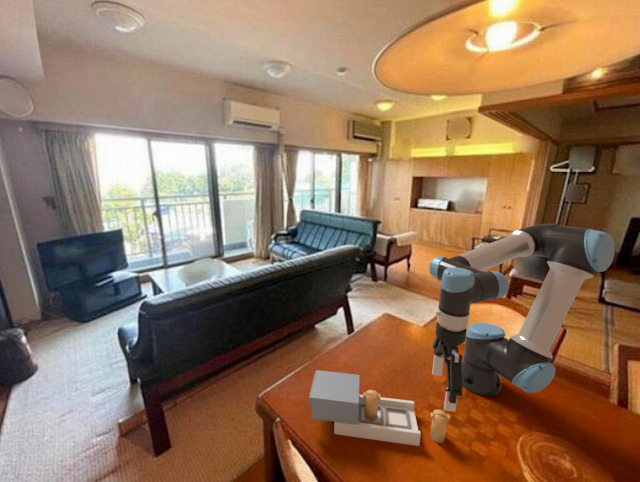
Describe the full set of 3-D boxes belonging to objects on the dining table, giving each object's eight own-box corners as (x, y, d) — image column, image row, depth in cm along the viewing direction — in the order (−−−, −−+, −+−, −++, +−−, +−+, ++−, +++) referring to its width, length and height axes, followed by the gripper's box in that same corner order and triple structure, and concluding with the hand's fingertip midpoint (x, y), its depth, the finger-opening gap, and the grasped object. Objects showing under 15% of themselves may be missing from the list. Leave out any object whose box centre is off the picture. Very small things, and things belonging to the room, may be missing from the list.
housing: (412, 412, 94) (413, 401, 93) (419, 446, 82) (420, 433, 81) (337, 402, 97) (338, 392, 96) (334, 434, 86) (334, 422, 85)
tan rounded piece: (378, 411, 91) (380, 390, 89) (379, 422, 87) (380, 400, 85) (362, 409, 92) (363, 388, 90) (362, 419, 88) (363, 398, 86)
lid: (358, 394, 95) (359, 374, 93) (357, 424, 84) (358, 403, 82) (315, 388, 97) (315, 370, 96) (309, 418, 86) (308, 397, 84)
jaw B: (444, 432, 87) (447, 410, 85) (448, 444, 83) (451, 422, 81) (427, 429, 87) (429, 408, 85) (429, 441, 84) (432, 419, 82)
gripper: (427, 303, 89) (420, 361, 94) (450, 351, 65) (440, 426, 70) (452, 304, 87) (444, 364, 92) (485, 354, 63) (472, 430, 68)
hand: (442, 391), depth 81 cm, fingers open, 13 cm apart
